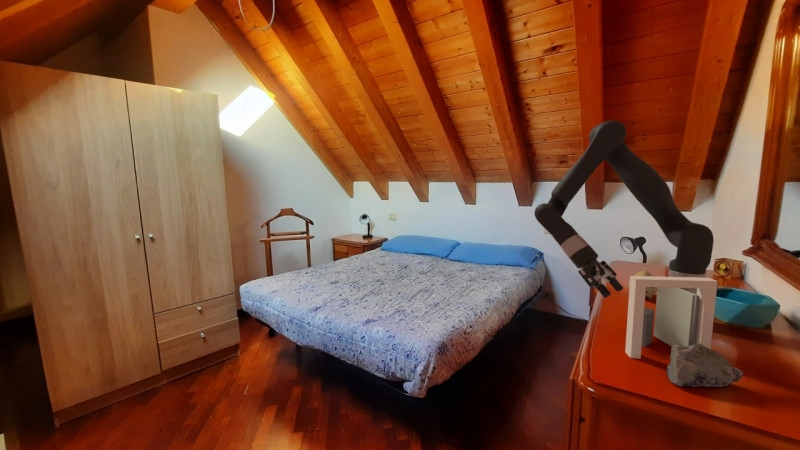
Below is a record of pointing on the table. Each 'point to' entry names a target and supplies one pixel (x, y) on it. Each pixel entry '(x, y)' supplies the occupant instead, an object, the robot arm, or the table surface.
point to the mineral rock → (700, 367)
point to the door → (676, 316)
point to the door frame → (639, 284)
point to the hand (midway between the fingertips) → (614, 293)
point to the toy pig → (649, 290)
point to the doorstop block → (647, 326)
